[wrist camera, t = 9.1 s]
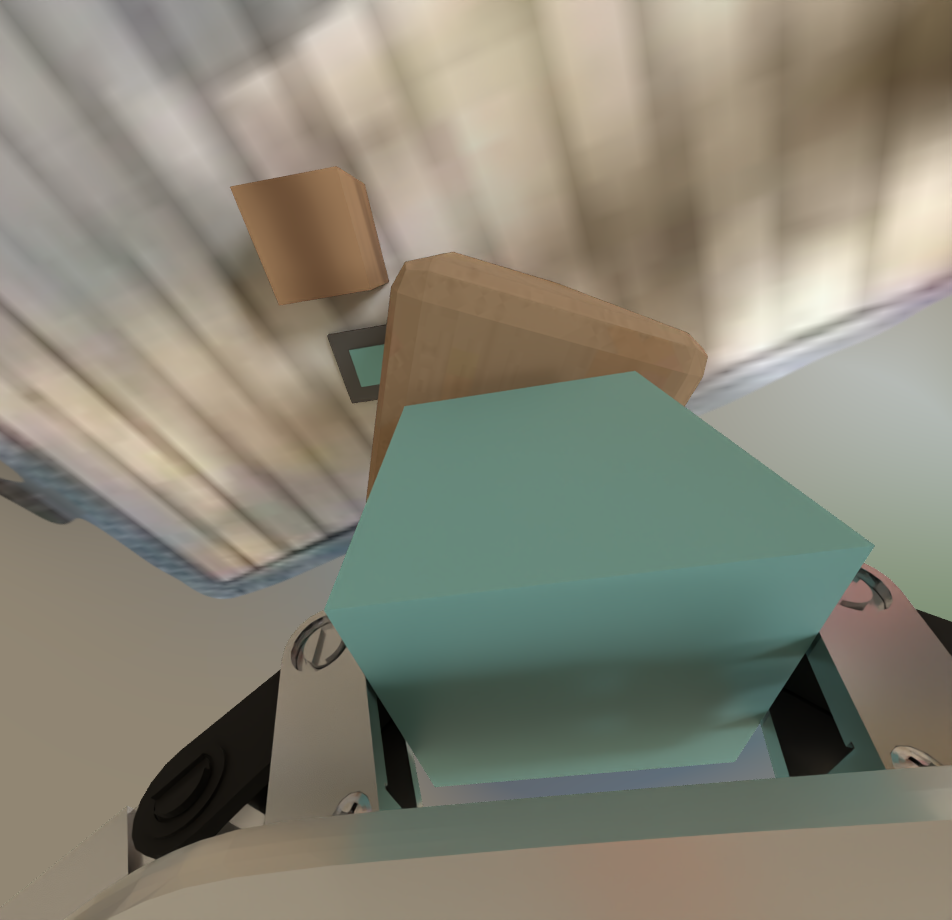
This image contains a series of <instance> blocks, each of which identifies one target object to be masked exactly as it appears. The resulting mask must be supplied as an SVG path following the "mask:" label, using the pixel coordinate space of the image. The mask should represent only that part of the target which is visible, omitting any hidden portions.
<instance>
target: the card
mask: <svg viewBox="0 0 952 920" xmlns="http://www.w3.org/2000/svg"><path fill="white" fill-rule="evenodd" d="M386 326H387V325H382V326H376V327H370V328H364V329H358V330H352V331H346V332H340V333H335V334H329V335H327V337H328V339H329V342H330V345H331V347H332V350H333V353H334V356H335V358H336V361H337V364H338V366H339V369H340V372H341V375H342V377H343V380H344V383H345V385H346V388H347V391H348V394H349V396H350V399H351V402H352V403H358V402H364V401H371V400H377V399H378V395H379V386H380V378H381V369H382V361H383V352H384V344H385V335H386Z"/></svg>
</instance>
